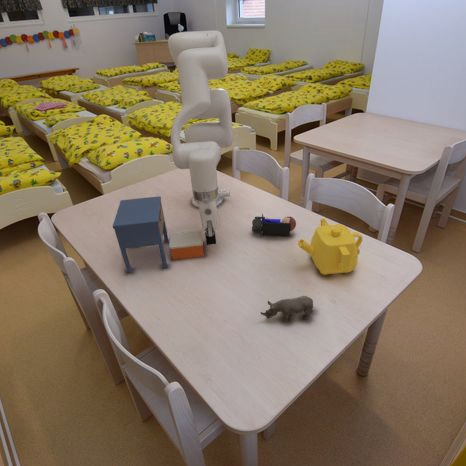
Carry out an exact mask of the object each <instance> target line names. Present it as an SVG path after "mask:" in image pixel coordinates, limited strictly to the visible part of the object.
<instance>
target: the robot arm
mask: <svg viewBox="0 0 466 466" xmlns="http://www.w3.org/2000/svg"><path fill="white" fill-rule="evenodd" d="M167 47H168V50H169V54H170V56H171V59H172V61H173V64H174V65H175V67H176V68H177V71H178V79H179V89H180V97H181V99H180V100H181V108H180V110H179V112H178V113H177V114H176V116H175V118H174V119H173V121H172V124H171V127H170V144H171V145H170V146H171V155H172V160H173V164H174V165H175V167H176V168H178V170H179V169H180V170H189V176H190V182H191V190H192V198H191V204H192V205H193V206H194V207H195V208H198V210H199V218H200V223H201V227H202V232H204V237H205V245H206V246H212V245H216V244H217V238H216V232H217V231H219V230H220V226H219V217H218V216H219V215H218V206H220V205H221V204H222V203H223V201H224V199H223V198H228V197H231V193H230V191H227V190H226V189H223V190H221V189H219V185H218V173H217V167H218V164H219V163H220V161H221V159H222V158H221V157H222V151H221V149H227V148H230V147H231V146H232V145H233V140H234V135H233V134H234V132H233V119H232V118H233V117H232V106H231V98H230V95H229V93H228V91H227V90H226V89H223V88H211V89H210V82H209V80H211V81H212V80H222V79H225V78H226V77H227V75H228V72H229V61H228V52H227V47H226V42H225V38H224V36H223V34H222V32H221V31H220V30H213V29H212V30H198V31H197V30H196V31H195V30H194V31H193V30H191V31H182V32H176V33H173V34H171V35H170V36H169V37H168V39H167ZM207 119H218V120H219V121H204V122H196V123H191V124H189V125H187V126H186V127H185V129H184V140H185V142H182V143H181V134H182V133H181V132H182V129H183V128H184V126H185V125H186V124H187V123H188V122H189V121H190V120H207Z"/></svg>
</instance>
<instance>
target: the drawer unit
mask: <svg viewBox="0 0 466 466" xmlns="http://www.w3.org/2000/svg"><path fill="white" fill-rule="evenodd" d="M160 204H161V207H162V212H163V229H162V239H161V235H160V230H159V225H158V223H159V214H160ZM112 229H113V231H114V233H115V236H116V240H117V243H118V246H119V250H120V253H121V256H122V260H123V263H124V266H125V270H126V273H127V274H131V273H132V272H133V270H132V267H131V262H130V260H129V255H128V252H127V249H134V248H144V247H150V246H151V247H152V246H153V247H154V246H158V251H159V256H160V261H161V264H162V268H163V269H168V263H167V258H166V253H165V247H164V243H165V244H170V239H169V235H168V230H167V226H166V220H165V215H164V210H163V204H162V196H160V195H158V196H150V197H140V198H139V197H138V198H131V199H130V198H129V199H121V200H120V202H119V205H118V208H117V211H116V214H115V217H114V220H113V223H112ZM163 239H164V240H163ZM163 241H164V243H163Z"/></svg>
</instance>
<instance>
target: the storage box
mask: <svg viewBox="0 0 466 466" xmlns="http://www.w3.org/2000/svg"><path fill="white" fill-rule="evenodd" d="M168 246H169V248H168V249H169V250H170V254H171V260H172V261H175V260H176V261H177V260H184V259H185V260H186V259H192V258H200V257H205V254H204V243H203V229H202V230H200V229H199V230H191V231H184V232H173V233H169V245H168Z"/></svg>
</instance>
